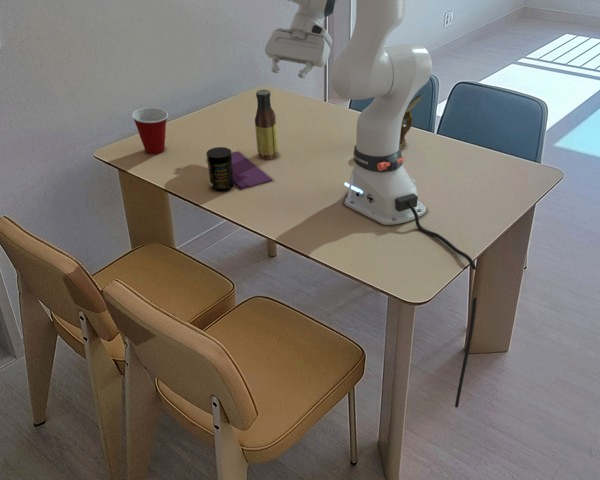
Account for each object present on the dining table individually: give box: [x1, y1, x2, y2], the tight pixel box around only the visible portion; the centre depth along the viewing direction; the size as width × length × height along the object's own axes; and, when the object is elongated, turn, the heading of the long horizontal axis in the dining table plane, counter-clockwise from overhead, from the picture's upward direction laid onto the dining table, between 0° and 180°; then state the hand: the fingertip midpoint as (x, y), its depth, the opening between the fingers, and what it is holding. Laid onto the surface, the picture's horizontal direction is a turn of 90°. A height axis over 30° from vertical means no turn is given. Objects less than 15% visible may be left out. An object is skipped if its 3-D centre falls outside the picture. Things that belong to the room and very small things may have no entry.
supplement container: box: [206, 146, 235, 193], centre depth 179 cm, size 7×7×10 cm
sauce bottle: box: [254, 89, 279, 160], centre depth 192 cm, size 7×6×20 cm
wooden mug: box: [399, 93, 422, 151], centre depth 196 cm, size 9×14×18 cm, turn 51°
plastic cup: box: [131, 107, 169, 155], centre depth 199 cm, size 11×11×12 cm
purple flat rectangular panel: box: [231, 151, 273, 190], centre depth 191 cm, size 22×10×1 cm, turn 30°
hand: (287, 74), depth 194 cm, fingers open, 8 cm apart
